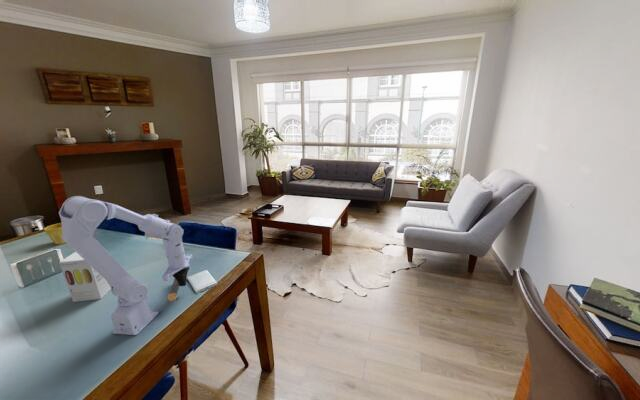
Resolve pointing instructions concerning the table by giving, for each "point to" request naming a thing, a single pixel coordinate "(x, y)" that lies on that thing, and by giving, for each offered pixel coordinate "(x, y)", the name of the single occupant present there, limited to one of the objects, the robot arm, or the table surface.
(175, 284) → the grey bar
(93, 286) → the supplement box
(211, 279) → the hard drive
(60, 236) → the plant pot
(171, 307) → the table surface
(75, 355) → the table surface
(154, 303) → the table surface
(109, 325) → the table surface
